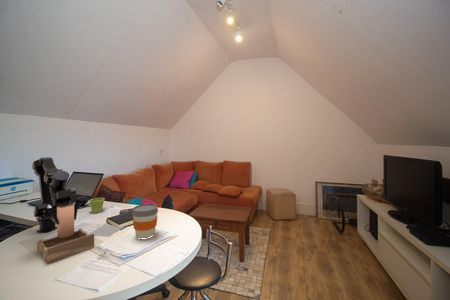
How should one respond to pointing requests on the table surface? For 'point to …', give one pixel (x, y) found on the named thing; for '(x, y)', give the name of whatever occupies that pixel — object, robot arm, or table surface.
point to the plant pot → (96, 204)
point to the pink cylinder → (65, 220)
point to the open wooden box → (65, 246)
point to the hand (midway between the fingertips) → (66, 221)
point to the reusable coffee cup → (145, 220)
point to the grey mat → (106, 230)
